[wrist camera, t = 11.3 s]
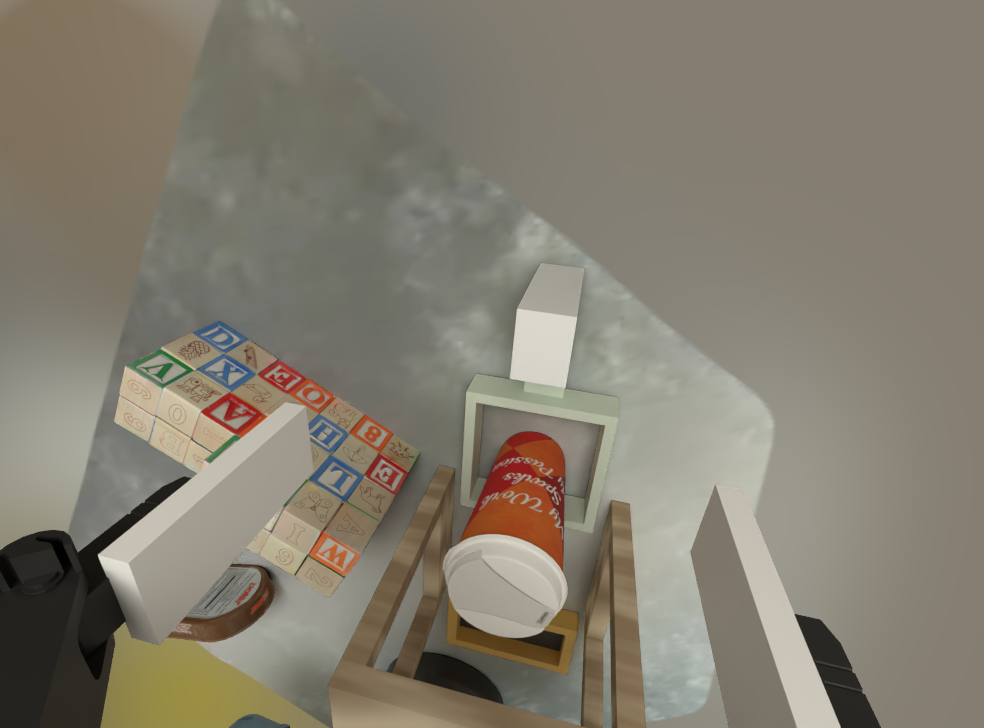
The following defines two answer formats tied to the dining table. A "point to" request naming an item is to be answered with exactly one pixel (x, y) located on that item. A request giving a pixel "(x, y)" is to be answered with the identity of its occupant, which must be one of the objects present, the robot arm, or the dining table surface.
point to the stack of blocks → (242, 406)
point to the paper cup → (513, 543)
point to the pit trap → (520, 641)
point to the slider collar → (543, 386)
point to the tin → (228, 605)
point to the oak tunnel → (397, 696)
